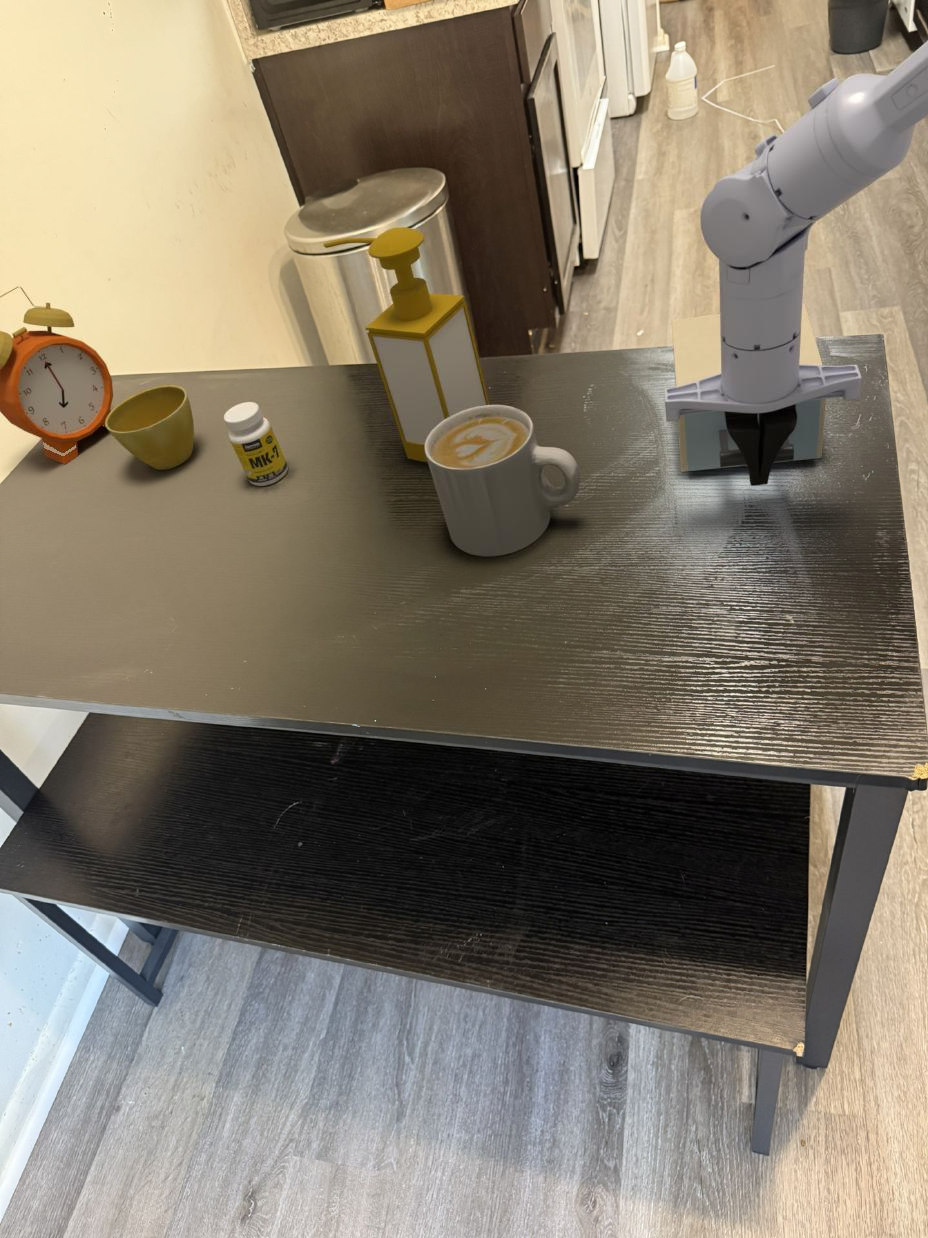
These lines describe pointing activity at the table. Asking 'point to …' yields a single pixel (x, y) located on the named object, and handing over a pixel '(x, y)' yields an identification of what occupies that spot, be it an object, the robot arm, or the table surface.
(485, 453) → the coffee mug
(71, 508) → the table surface
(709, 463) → the drawer
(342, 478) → the table surface
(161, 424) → the flower pot
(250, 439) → the supplement bottle
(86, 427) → the alarm clock
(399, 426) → the soap bottle
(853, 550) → the table surface
